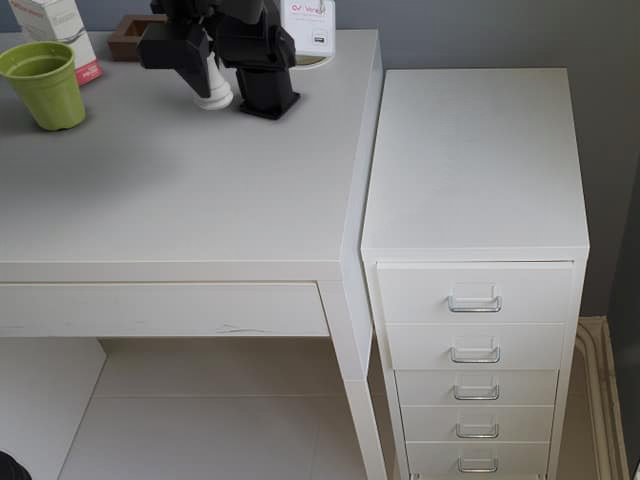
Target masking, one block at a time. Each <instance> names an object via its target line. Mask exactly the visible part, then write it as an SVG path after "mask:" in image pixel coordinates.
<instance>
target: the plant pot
mask: <svg viewBox="0 0 640 480" xmlns="http://www.w3.org/2000/svg"><path fill="white" fill-rule="evenodd" d="M74 59H75V52H74V50H73V49H72V48H71V47H70V46H68V45H66V44H64V43H60V42H55V41H39V42H31V43H27V42H26V43H23V44H19V45H16V46H14V47H11V48H9V49H7V50H5V51H4V52H2V53H1V54H0V76H1V77H3V78H4V79H5V80H6V82H7V83H8V84H9V85H11V87H12V88H13V90H14V91H15V92H16V94H17V95H18V97H19V98H20V100H21V101H22V102H23V104H24V105H25V107H26V108H27V109H28V111H29V113H30V114H31V115H32V117H33V119H34V120H35V122H36V123H37V124H38V126H39V127H40V128H42V129H44V130H47V131H58V130H60V129H71V128H74V127H76V126H77V125H80V124H81V123H82V122H83V121H84V120H85V118H86V109H85V105H84V101H83V98H82V93H81V90H80V87H79V86H78V82H77V78H76V74H75V63H74Z"/></svg>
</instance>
